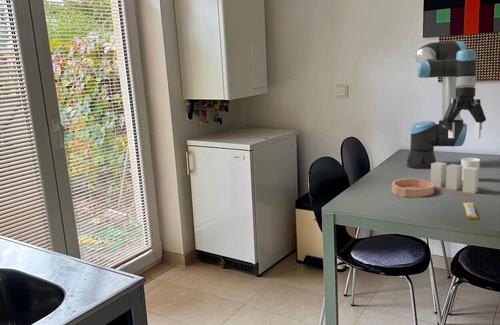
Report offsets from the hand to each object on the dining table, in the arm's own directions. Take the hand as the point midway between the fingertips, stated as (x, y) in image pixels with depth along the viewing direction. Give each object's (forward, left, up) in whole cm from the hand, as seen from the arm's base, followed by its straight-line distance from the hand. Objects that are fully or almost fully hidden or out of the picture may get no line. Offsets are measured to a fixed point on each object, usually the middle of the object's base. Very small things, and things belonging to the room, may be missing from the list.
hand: (464, 138), depth 193 cm
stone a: (+2, -10, -22) cm, 24 cm away
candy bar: (+25, +17, -23) cm, 38 cm away
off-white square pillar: (+2, +5, -22) cm, 23 cm away
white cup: (-16, -5, -23) cm, 28 cm away
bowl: (+17, -13, -23) cm, 31 cm away
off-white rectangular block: (+2, -2, -22) cm, 22 cm away
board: (+2, -2, -23) cm, 23 cm away
